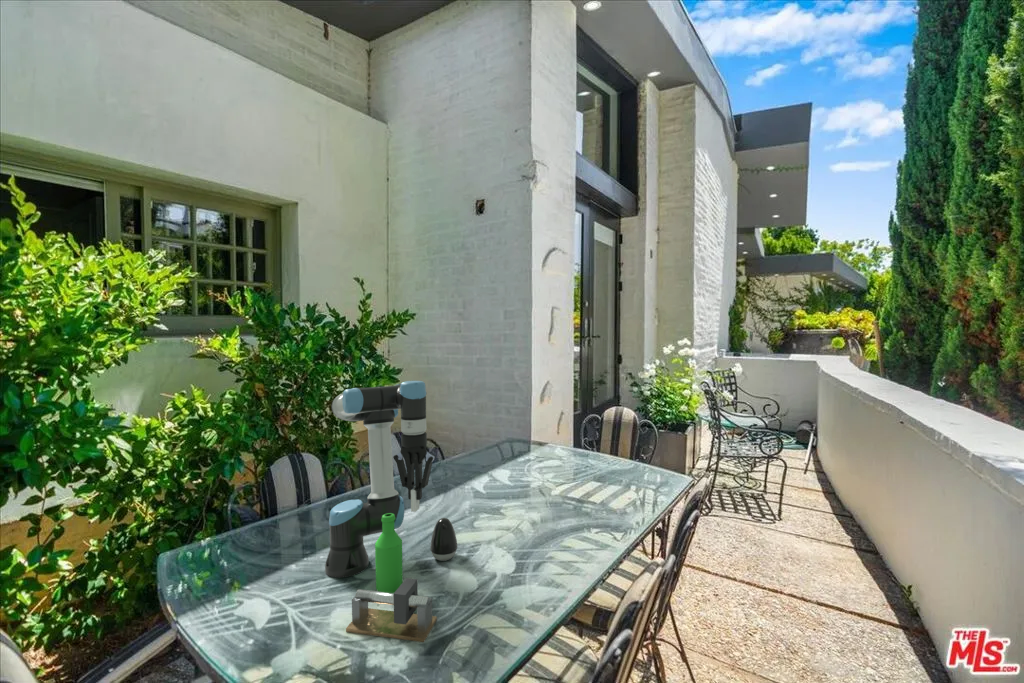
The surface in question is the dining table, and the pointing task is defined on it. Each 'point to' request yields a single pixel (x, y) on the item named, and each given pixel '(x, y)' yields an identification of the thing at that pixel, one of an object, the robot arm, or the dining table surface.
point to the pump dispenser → (443, 540)
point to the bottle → (388, 557)
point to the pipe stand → (390, 617)
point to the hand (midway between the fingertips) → (415, 509)
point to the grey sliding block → (404, 601)
